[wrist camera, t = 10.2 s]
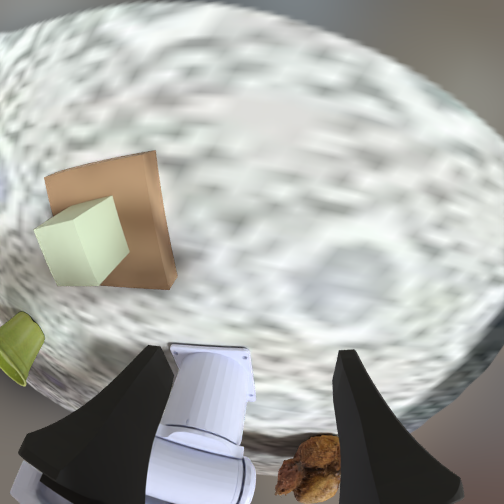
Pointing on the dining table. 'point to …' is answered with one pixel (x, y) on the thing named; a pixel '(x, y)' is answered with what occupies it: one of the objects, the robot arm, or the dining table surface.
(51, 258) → the sage cube
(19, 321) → the plant pot
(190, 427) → the robot arm
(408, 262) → the dining table surface
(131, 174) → the tan block
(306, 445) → the seed pod
